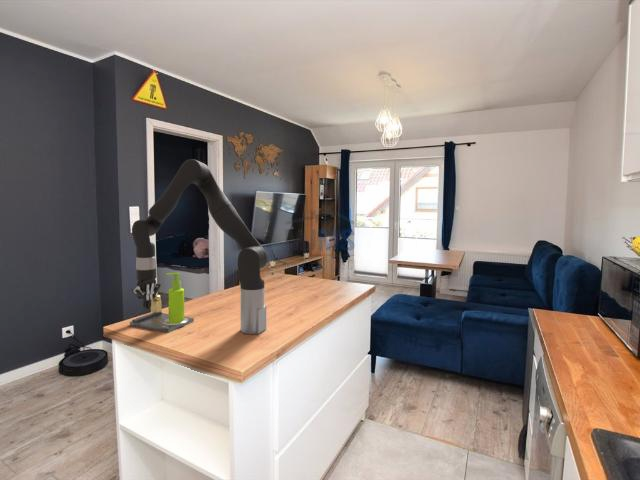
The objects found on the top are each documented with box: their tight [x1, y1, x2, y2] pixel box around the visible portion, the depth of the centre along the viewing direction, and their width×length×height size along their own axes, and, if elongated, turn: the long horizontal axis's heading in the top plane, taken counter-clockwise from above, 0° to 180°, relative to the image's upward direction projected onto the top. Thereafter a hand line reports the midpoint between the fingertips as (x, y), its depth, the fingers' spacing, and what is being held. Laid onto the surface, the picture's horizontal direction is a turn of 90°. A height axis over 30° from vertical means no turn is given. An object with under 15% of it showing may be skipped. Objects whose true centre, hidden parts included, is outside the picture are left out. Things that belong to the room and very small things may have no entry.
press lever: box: [150, 294, 163, 313], centre depth 149 cm, size 4×4×7 cm
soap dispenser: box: [165, 271, 185, 323], centre depth 139 cm, size 6×7×20 cm
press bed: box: [129, 311, 195, 333], centre depth 142 cm, size 21×14×2 cm
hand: (147, 308), depth 144 cm, fingers closed
